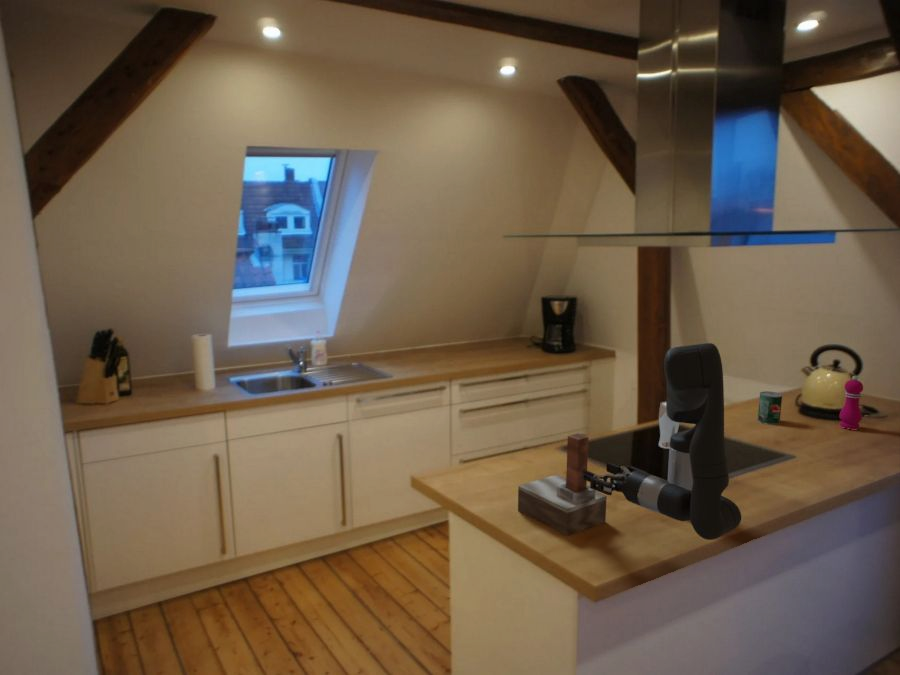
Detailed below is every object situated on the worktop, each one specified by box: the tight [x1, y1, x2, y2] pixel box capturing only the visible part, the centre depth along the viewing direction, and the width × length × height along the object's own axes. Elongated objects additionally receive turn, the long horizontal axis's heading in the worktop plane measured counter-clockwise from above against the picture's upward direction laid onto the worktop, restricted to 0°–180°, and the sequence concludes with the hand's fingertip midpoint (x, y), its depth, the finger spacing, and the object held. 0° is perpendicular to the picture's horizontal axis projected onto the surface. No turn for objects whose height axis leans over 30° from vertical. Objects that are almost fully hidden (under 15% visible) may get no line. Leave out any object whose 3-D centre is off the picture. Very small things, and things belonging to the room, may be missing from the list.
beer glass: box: [658, 401, 680, 450], centre depth 231 cm, size 7×7×15 cm
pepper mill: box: [839, 375, 864, 429], centre depth 252 cm, size 7×7×20 cm
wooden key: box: [565, 433, 589, 492], centre depth 170 cm, size 4×4×16 cm
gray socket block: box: [517, 474, 608, 537], centre depth 176 cm, size 14×18×10 cm
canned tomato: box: [757, 390, 783, 425], centre depth 260 cm, size 8×8×11 cm
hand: (595, 470), depth 165 cm, fingers open, 8 cm apart
